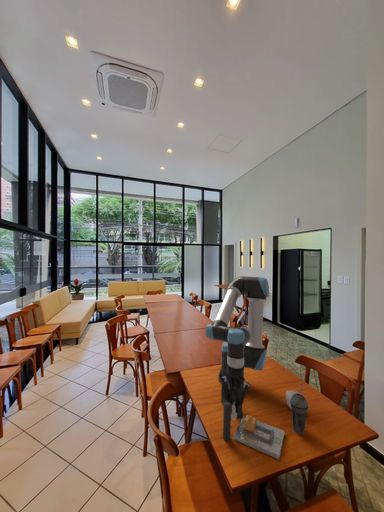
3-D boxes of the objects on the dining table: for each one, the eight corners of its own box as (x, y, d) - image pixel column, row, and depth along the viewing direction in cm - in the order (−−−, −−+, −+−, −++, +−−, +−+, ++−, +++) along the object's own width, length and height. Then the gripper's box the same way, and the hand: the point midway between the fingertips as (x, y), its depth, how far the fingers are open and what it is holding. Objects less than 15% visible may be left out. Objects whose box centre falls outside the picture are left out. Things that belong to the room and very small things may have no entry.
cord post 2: (234, 416, 106) (235, 386, 106) (236, 412, 108) (237, 383, 108) (240, 418, 104) (241, 388, 104) (242, 414, 107) (243, 385, 107)
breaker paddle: (243, 429, 95) (244, 418, 95) (246, 423, 98) (246, 413, 98) (253, 433, 93) (253, 422, 93) (255, 427, 96) (255, 416, 96)
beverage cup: (286, 424, 101) (287, 380, 101) (301, 423, 102) (302, 379, 102) (295, 437, 94) (295, 389, 94) (311, 436, 94) (312, 389, 95)
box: (238, 408, 111) (239, 387, 112) (229, 411, 109) (230, 389, 109) (229, 399, 118) (230, 379, 119) (220, 402, 116) (221, 381, 116)
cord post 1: (221, 439, 92) (222, 404, 92) (224, 434, 94) (225, 401, 95) (228, 442, 90) (229, 407, 91) (231, 437, 93) (232, 403, 93)
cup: (291, 414, 108) (291, 400, 108) (280, 401, 118) (280, 388, 118) (305, 412, 109) (306, 399, 109) (293, 400, 119) (293, 387, 119)
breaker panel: (233, 439, 92) (233, 431, 92) (243, 418, 104) (243, 412, 104) (279, 459, 83) (279, 451, 83) (284, 434, 95) (284, 427, 95)
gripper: (218, 364, 100) (217, 418, 99) (247, 372, 93) (246, 429, 92) (224, 358, 106) (223, 408, 105) (252, 365, 99) (251, 419, 99)
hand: (234, 418), depth 99 cm, fingers closed
